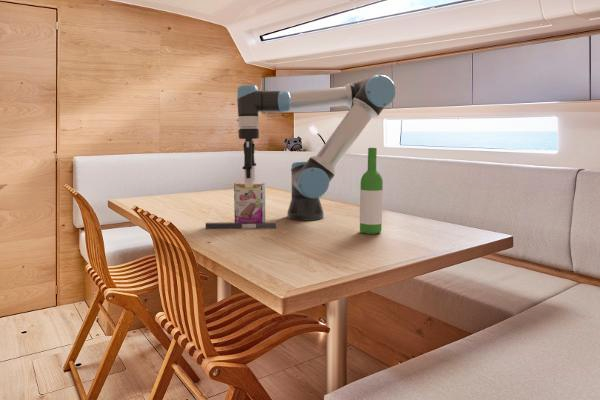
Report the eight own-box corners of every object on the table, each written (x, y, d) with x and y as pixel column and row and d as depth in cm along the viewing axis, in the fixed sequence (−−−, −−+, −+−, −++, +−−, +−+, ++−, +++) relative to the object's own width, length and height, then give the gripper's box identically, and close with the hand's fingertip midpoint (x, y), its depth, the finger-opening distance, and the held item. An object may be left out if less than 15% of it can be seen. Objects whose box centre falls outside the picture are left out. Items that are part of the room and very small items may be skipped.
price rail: (276, 227, 175) (276, 222, 175) (276, 228, 173) (276, 223, 172) (206, 227, 174) (206, 222, 174) (205, 229, 172) (205, 223, 171)
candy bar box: (234, 226, 177) (233, 183, 174) (238, 223, 182) (237, 181, 179) (262, 227, 175) (262, 183, 172) (266, 224, 180) (265, 182, 177)
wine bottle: (368, 235, 161) (369, 148, 156) (355, 231, 168) (356, 147, 163) (386, 233, 165) (388, 148, 160) (372, 229, 171) (374, 147, 167)
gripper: (241, 128, 185) (243, 181, 188) (235, 128, 160) (237, 189, 163) (260, 128, 185) (261, 181, 188) (256, 127, 161) (258, 188, 164)
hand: (250, 185), depth 176 cm, fingers open, 13 cm apart
